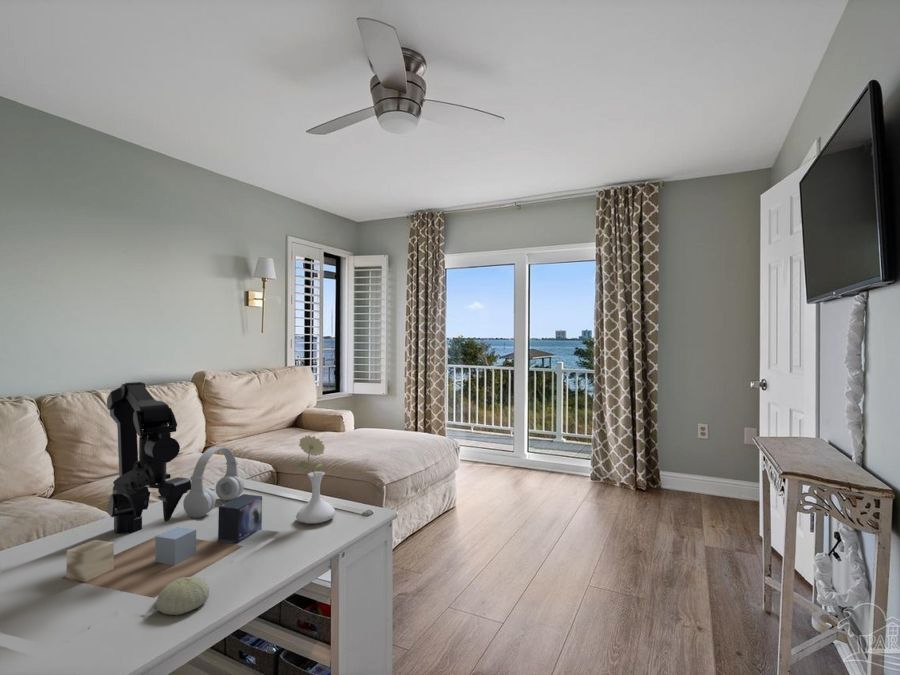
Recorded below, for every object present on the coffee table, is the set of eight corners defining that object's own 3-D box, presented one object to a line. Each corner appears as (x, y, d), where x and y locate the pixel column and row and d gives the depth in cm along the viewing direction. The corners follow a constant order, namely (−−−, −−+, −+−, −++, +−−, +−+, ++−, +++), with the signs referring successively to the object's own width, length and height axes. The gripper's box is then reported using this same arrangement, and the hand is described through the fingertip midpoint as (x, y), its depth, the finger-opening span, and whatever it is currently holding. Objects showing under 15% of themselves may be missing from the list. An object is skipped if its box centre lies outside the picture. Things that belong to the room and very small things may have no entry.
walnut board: (60, 584, 101) (60, 578, 101) (162, 538, 125) (162, 533, 125) (154, 603, 93) (154, 597, 93) (243, 550, 117) (243, 546, 117)
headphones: (222, 496, 159) (222, 441, 160) (245, 497, 158) (245, 441, 158) (181, 518, 139) (181, 454, 140) (207, 519, 138) (207, 455, 139)
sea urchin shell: (174, 615, 86) (159, 577, 89) (159, 636, 89) (144, 598, 92) (221, 592, 94) (205, 558, 97) (205, 612, 96) (191, 578, 100)
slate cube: (155, 536, 109) (175, 539, 107) (177, 526, 114) (196, 529, 113) (155, 561, 109) (174, 565, 107) (177, 550, 114) (196, 554, 113)
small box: (238, 548, 118) (238, 508, 118) (216, 546, 120) (216, 506, 120) (263, 532, 129) (263, 494, 129) (242, 530, 130) (242, 493, 130)
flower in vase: (343, 517, 139) (343, 435, 140) (314, 530, 129) (314, 441, 130) (314, 509, 146) (314, 430, 146) (284, 521, 136) (284, 437, 137)
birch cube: (66, 578, 101) (66, 550, 101) (94, 565, 107) (94, 539, 107) (85, 582, 99) (86, 554, 100) (113, 569, 105) (113, 542, 105)
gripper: (91, 460, 108) (91, 527, 108) (151, 466, 103) (151, 536, 102) (136, 450, 119) (136, 511, 119) (193, 455, 113) (192, 518, 113)
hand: (152, 519), depth 113 cm, fingers open, 9 cm apart
